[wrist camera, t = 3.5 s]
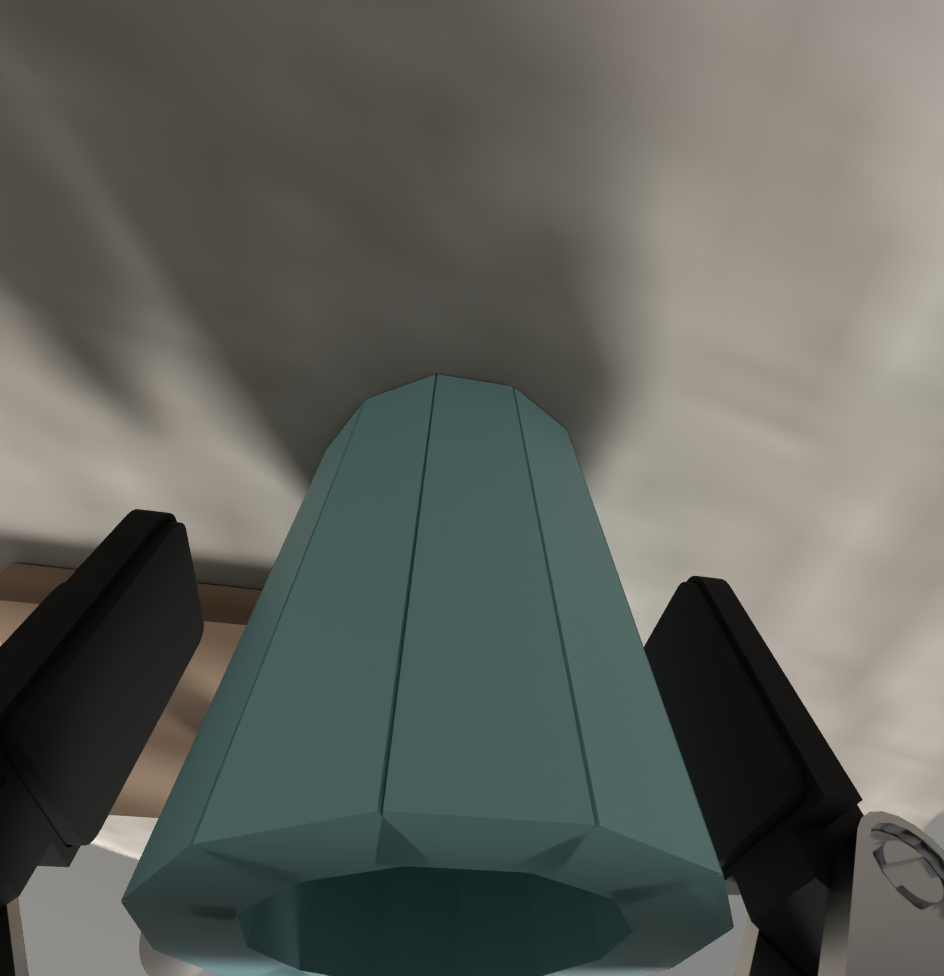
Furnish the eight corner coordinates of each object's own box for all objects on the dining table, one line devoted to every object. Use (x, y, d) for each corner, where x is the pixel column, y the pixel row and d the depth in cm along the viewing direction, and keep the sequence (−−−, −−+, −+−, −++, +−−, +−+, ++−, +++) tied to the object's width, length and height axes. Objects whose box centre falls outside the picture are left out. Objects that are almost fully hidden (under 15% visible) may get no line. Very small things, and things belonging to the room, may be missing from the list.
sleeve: (326, 356, 10) (43, 788, 3) (614, 402, 10) (865, 842, 4) (324, 571, 13) (185, 996, 7) (542, 596, 14) (611, 1007, 7)
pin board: (12, 562, 13) (-323, 875, 7) (466, 612, 14) (466, 910, 9) (118, 780, 20) (-16, 1027, 14) (419, 801, 21) (402, 1035, 15)
